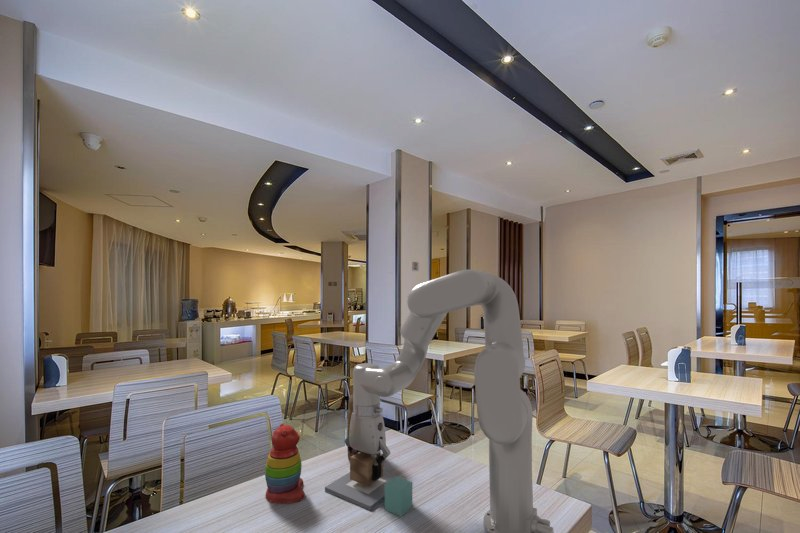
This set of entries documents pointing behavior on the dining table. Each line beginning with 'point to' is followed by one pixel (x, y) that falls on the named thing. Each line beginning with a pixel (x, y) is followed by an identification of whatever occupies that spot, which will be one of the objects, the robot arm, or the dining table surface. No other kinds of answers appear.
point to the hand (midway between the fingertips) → (366, 474)
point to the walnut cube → (362, 468)
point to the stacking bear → (284, 467)
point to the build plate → (360, 490)
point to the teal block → (398, 495)
